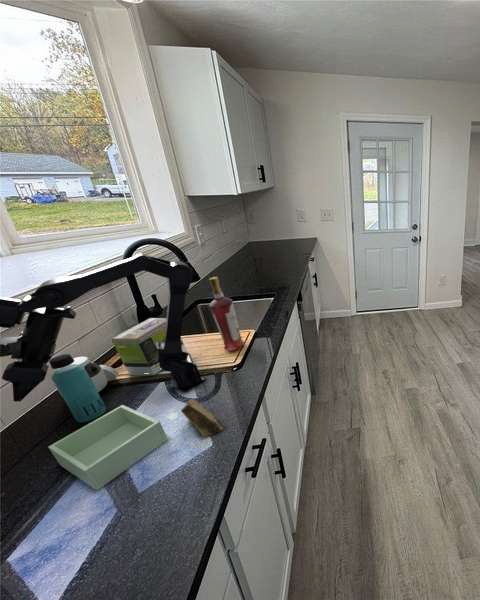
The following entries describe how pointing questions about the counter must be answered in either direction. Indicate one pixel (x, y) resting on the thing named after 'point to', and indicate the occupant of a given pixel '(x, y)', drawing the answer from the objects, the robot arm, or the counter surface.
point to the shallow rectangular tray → (108, 445)
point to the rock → (201, 418)
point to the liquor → (225, 318)
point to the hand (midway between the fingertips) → (21, 391)
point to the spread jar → (97, 373)
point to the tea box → (142, 346)
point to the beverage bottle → (77, 389)
